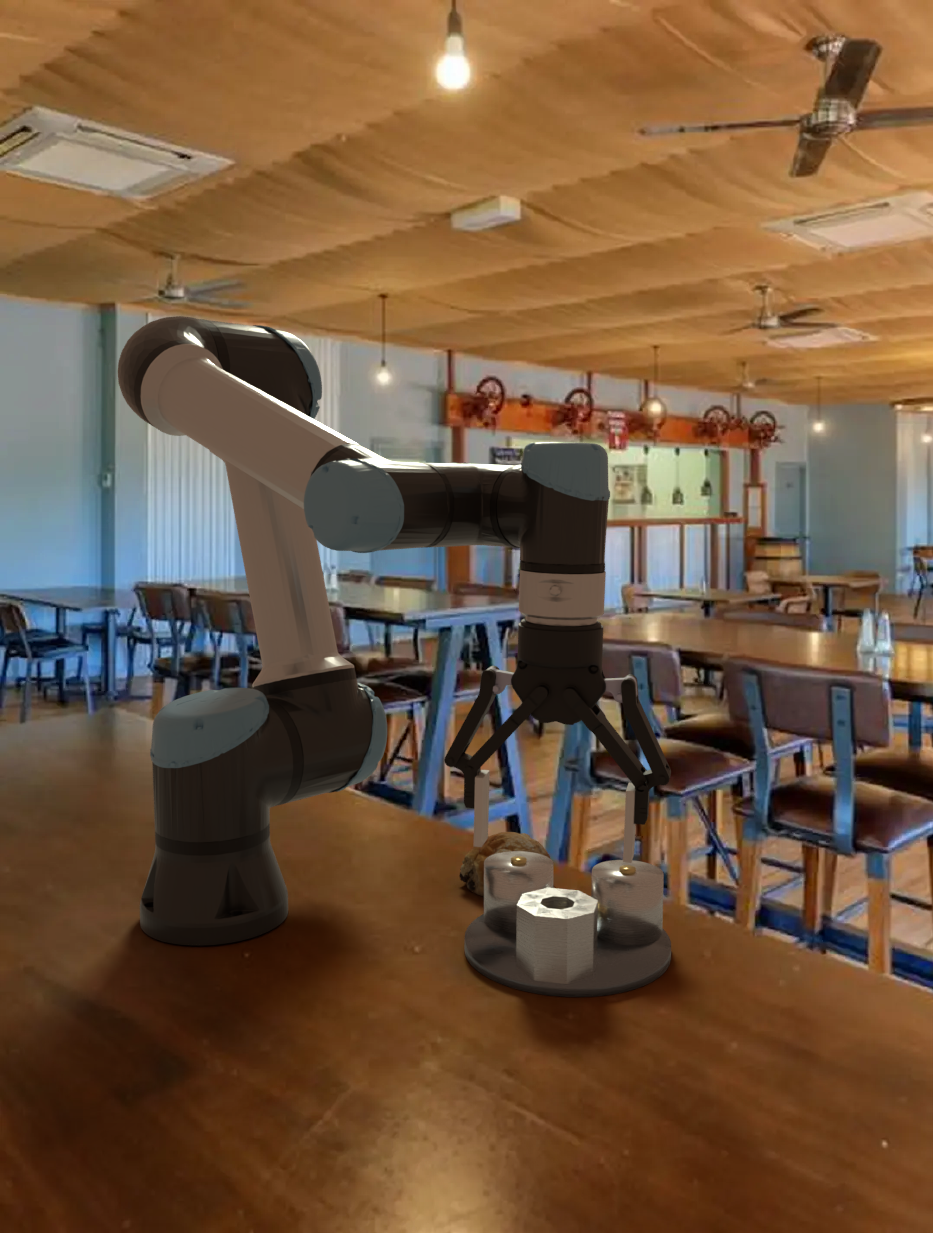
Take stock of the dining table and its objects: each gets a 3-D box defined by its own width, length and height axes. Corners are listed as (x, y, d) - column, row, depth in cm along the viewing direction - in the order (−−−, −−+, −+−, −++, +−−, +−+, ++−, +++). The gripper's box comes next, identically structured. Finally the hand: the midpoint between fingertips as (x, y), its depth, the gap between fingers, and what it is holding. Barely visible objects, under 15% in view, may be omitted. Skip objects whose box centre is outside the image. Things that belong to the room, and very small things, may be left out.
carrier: (441, 982, 98) (440, 902, 97) (489, 902, 118) (489, 834, 117) (664, 1008, 93) (666, 924, 93) (676, 919, 113) (678, 849, 112)
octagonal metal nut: (526, 946, 103) (526, 885, 103) (599, 953, 102) (600, 892, 101) (511, 977, 97) (512, 913, 96) (589, 986, 95) (590, 921, 94)
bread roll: (523, 937, 117) (555, 876, 116) (442, 889, 119) (472, 828, 118) (543, 904, 127) (572, 847, 125) (467, 860, 129) (495, 803, 127)
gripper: (413, 616, 95) (410, 849, 98) (703, 632, 89) (691, 879, 92) (436, 606, 102) (432, 823, 105) (706, 620, 96) (694, 849, 99)
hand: (553, 849), depth 98 cm, fingers open, 13 cm apart
